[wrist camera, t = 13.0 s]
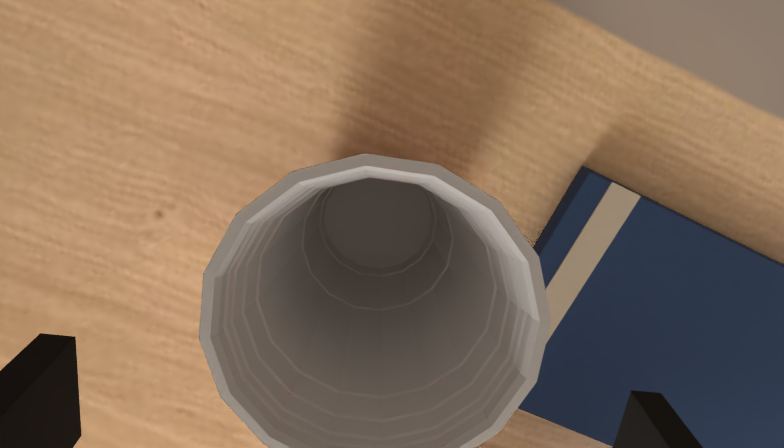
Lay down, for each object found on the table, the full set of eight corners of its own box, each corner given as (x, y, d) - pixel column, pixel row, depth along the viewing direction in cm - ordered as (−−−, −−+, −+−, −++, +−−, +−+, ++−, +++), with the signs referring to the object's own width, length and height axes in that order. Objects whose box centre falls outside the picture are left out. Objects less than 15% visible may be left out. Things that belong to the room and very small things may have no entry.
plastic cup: (487, 97, 27) (564, 150, 15) (485, 305, 30) (547, 471, 19) (255, 108, 27) (162, 169, 15) (281, 315, 30) (220, 487, 19)
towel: (457, 372, 32) (460, 386, 30) (581, 164, 28) (591, 171, 27) (774, 502, 35) (788, 520, 34) (923, 333, 31) (945, 346, 30)
